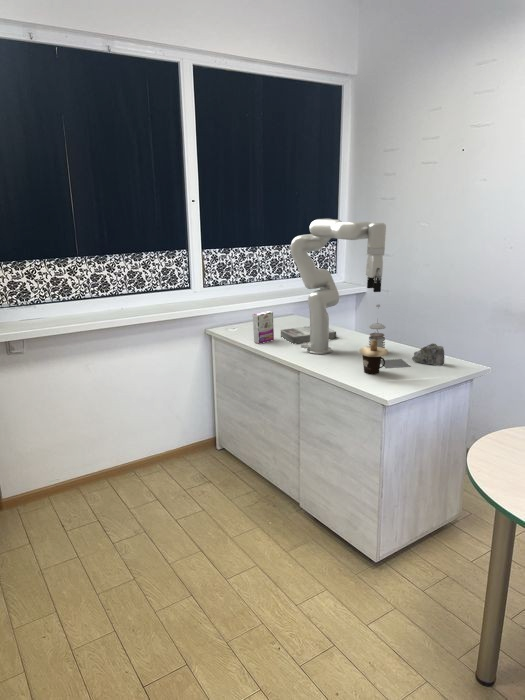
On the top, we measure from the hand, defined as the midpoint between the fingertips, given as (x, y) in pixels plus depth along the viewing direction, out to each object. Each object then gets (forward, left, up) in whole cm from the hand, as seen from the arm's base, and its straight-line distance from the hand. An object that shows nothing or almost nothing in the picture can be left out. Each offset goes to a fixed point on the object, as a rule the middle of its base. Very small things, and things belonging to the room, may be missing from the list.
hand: (373, 289), depth 227 cm
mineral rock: (+26, -5, -35) cm, 44 cm away
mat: (+10, -3, -35) cm, 36 cm away
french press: (+8, +16, -35) cm, 39 cm away
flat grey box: (-19, +54, -36) cm, 68 cm away
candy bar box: (-45, +51, -35) cm, 77 cm away
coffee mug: (-4, -15, -35) cm, 38 cm away
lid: (-4, -15, -25) cm, 30 cm away
